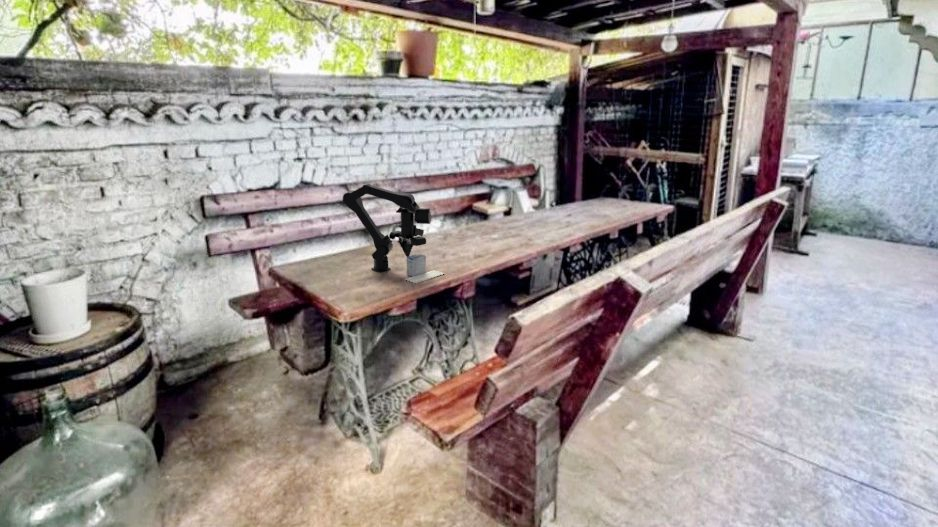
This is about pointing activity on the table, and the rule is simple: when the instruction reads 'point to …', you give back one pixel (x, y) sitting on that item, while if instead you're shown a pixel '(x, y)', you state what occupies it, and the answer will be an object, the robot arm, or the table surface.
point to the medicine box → (416, 264)
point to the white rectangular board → (424, 276)
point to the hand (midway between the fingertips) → (407, 256)
